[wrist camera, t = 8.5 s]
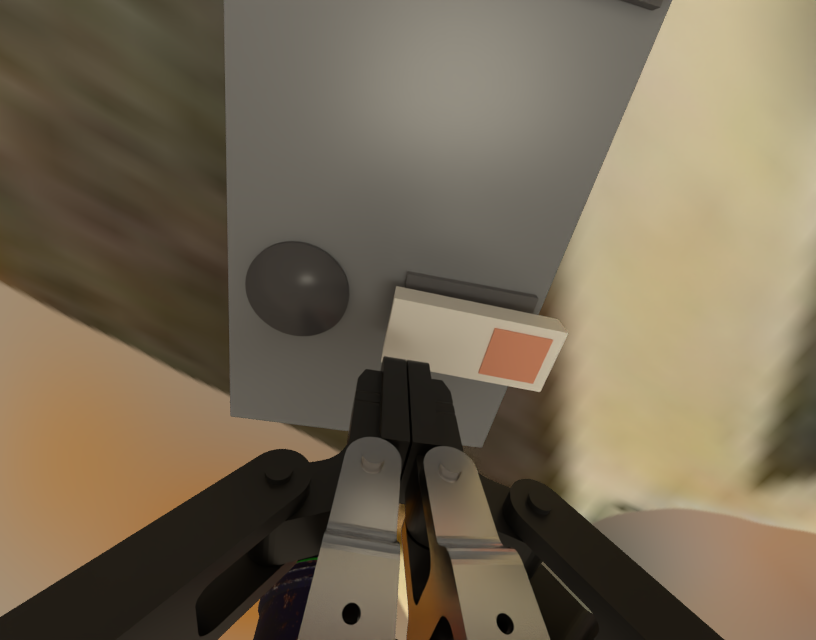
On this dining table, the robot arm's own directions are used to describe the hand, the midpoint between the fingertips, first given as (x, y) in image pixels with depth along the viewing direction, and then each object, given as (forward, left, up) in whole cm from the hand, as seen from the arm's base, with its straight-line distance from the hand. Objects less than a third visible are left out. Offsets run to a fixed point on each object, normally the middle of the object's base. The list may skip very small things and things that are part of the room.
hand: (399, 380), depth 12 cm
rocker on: (-3, 0, -3) cm, 5 cm away
